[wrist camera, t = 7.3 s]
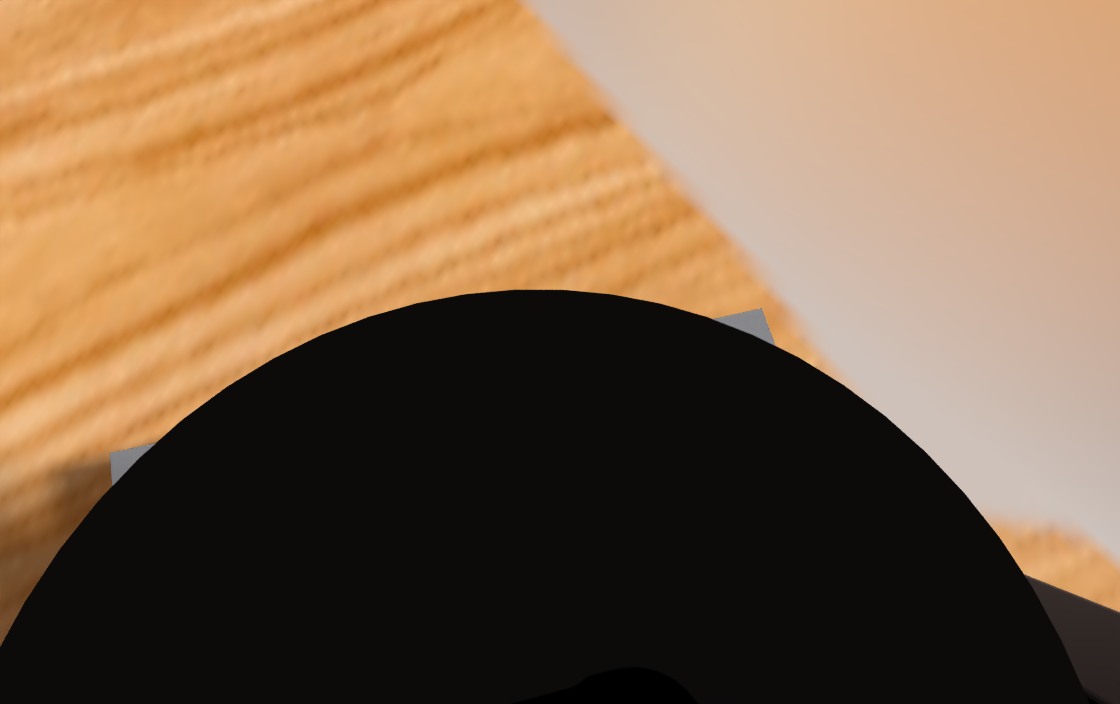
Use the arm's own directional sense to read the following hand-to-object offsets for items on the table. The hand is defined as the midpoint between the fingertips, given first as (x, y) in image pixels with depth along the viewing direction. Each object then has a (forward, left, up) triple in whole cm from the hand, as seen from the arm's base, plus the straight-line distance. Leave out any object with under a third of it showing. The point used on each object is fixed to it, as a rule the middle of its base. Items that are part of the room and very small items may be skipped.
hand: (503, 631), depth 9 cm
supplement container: (-1, 0, -7) cm, 7 cm away
